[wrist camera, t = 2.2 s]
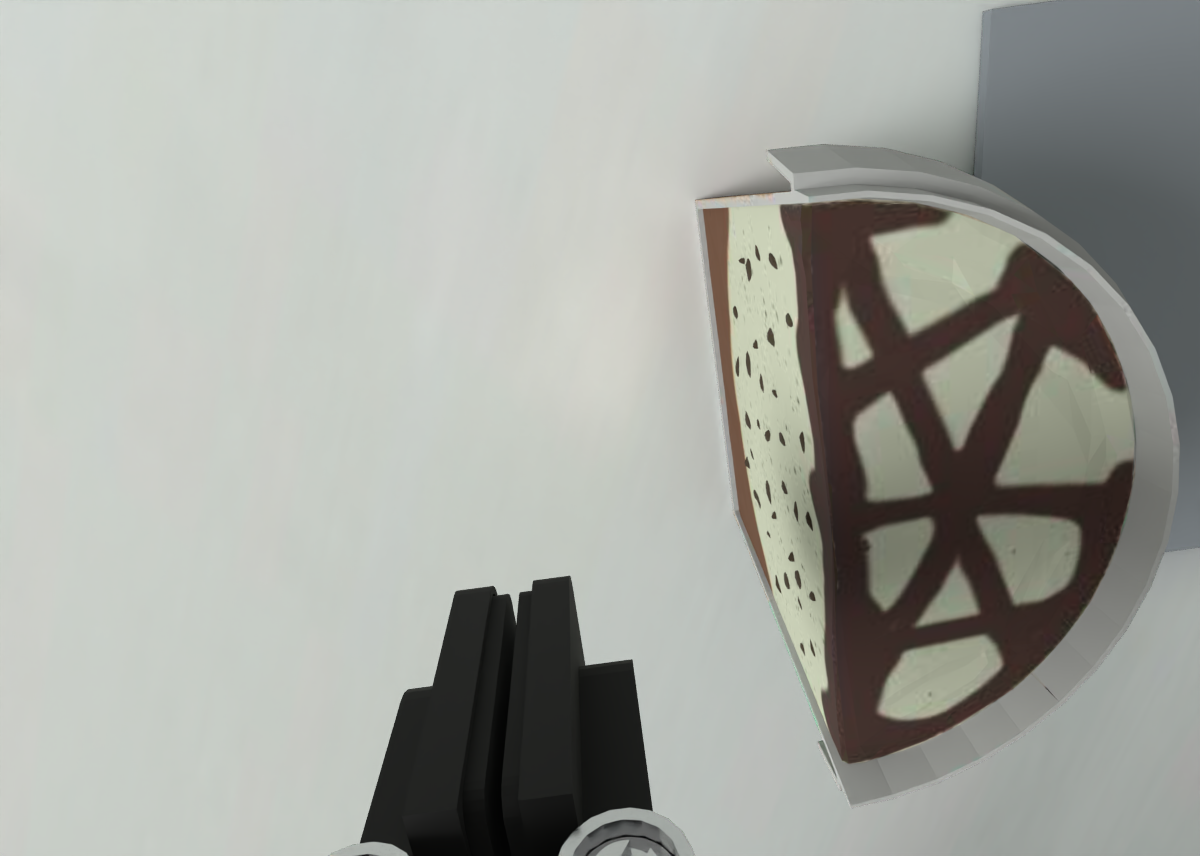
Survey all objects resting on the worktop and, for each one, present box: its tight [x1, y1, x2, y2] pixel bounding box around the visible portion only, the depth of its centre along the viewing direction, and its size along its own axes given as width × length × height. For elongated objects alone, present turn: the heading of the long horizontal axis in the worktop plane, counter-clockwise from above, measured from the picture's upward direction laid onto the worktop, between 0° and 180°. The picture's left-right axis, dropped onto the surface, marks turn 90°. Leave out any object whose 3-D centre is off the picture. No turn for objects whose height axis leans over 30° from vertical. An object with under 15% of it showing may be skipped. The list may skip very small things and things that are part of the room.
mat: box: [974, 0, 1200, 552], centre depth 21 cm, size 16×12×1 cm
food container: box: [695, 144, 1180, 808], centre depth 17 cm, size 12×6×10 cm, turn 10°
